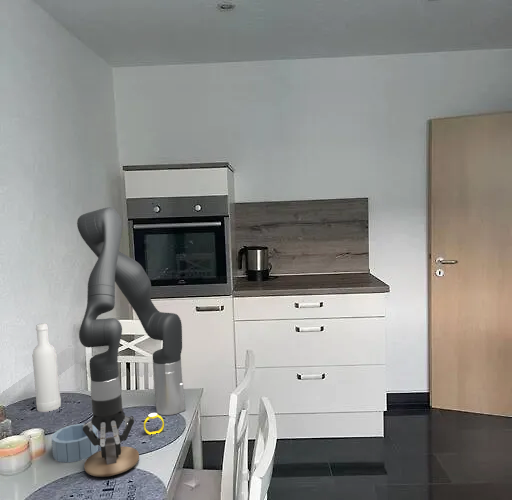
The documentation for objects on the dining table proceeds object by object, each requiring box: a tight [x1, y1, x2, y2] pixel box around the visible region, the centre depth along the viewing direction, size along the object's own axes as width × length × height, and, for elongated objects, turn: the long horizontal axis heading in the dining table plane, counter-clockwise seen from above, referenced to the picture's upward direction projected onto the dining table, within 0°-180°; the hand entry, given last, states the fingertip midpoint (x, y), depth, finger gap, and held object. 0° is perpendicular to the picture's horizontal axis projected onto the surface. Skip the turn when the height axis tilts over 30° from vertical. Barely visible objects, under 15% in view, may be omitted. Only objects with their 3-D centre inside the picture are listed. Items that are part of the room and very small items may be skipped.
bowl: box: [51, 422, 100, 464], centre depth 140 cm, size 12×12×6 cm
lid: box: [83, 436, 140, 477], centre depth 131 cm, size 14×14×6 cm
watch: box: [143, 412, 165, 436], centre depth 149 cm, size 6×3×6 cm, turn 107°
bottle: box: [31, 322, 62, 413], centre depth 173 cm, size 8×8×30 cm
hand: (111, 456), depth 131 cm, fingers closed on lid
